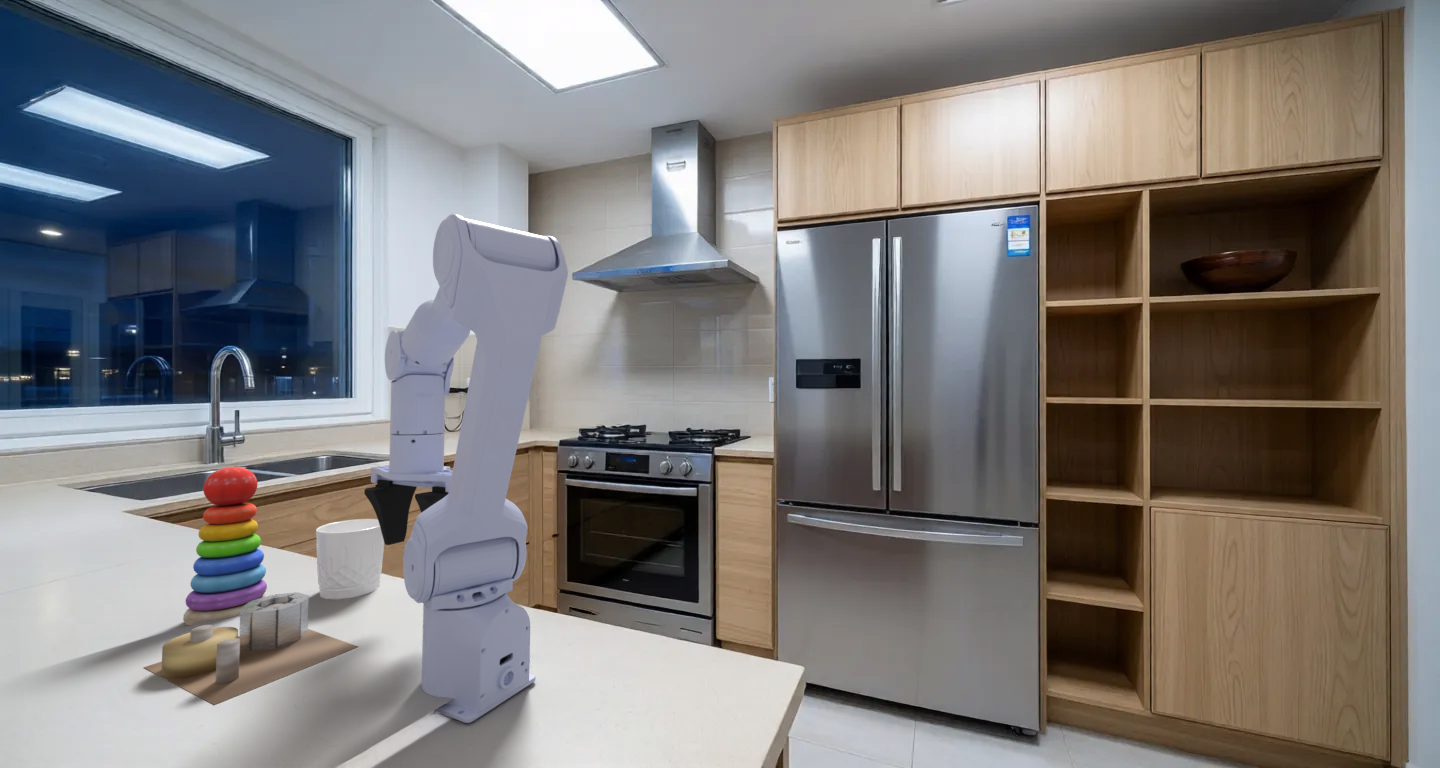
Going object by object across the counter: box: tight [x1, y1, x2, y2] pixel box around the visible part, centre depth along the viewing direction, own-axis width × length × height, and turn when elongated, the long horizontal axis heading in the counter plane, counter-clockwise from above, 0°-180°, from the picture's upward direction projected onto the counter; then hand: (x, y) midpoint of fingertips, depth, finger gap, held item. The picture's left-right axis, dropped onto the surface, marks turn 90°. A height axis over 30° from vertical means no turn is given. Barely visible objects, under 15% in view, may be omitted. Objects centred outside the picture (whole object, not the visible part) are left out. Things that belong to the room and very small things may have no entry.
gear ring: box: [238, 592, 309, 651], centre depth 59 cm, size 5×5×4 cm
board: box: [143, 604, 359, 706], centre depth 55 cm, size 14×12×5 cm
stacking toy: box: [182, 466, 268, 626], centre depth 67 cm, size 8×8×19 cm
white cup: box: [315, 518, 385, 600], centre depth 73 cm, size 8×8×10 cm
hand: (415, 547), depth 64 cm, fingers open, 7 cm apart
